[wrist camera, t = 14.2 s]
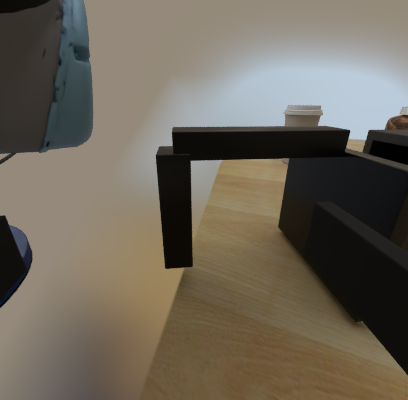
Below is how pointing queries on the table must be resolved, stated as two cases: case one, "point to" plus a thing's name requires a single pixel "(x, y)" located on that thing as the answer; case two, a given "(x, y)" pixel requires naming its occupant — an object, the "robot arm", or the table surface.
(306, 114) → the coffee cup
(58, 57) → the robot arm
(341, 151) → the fryer drawer
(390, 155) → the box
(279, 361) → the table surface
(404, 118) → the jar
